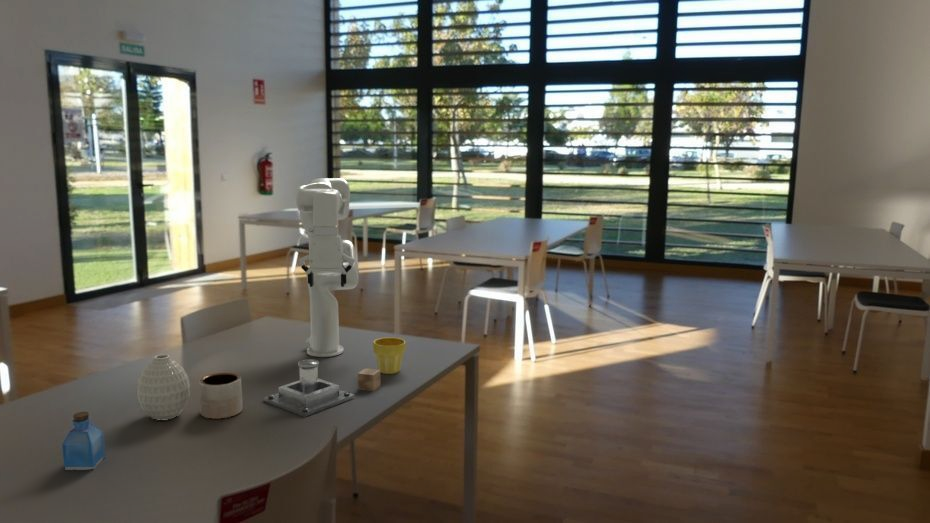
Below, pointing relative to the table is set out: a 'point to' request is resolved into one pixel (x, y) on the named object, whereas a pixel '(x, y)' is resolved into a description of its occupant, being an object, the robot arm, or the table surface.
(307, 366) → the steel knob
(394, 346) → the plant pot
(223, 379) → the planter
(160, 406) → the vase
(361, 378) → the wooden cube
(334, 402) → the square metal socket
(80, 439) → the perfume bottle
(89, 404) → the table surface
